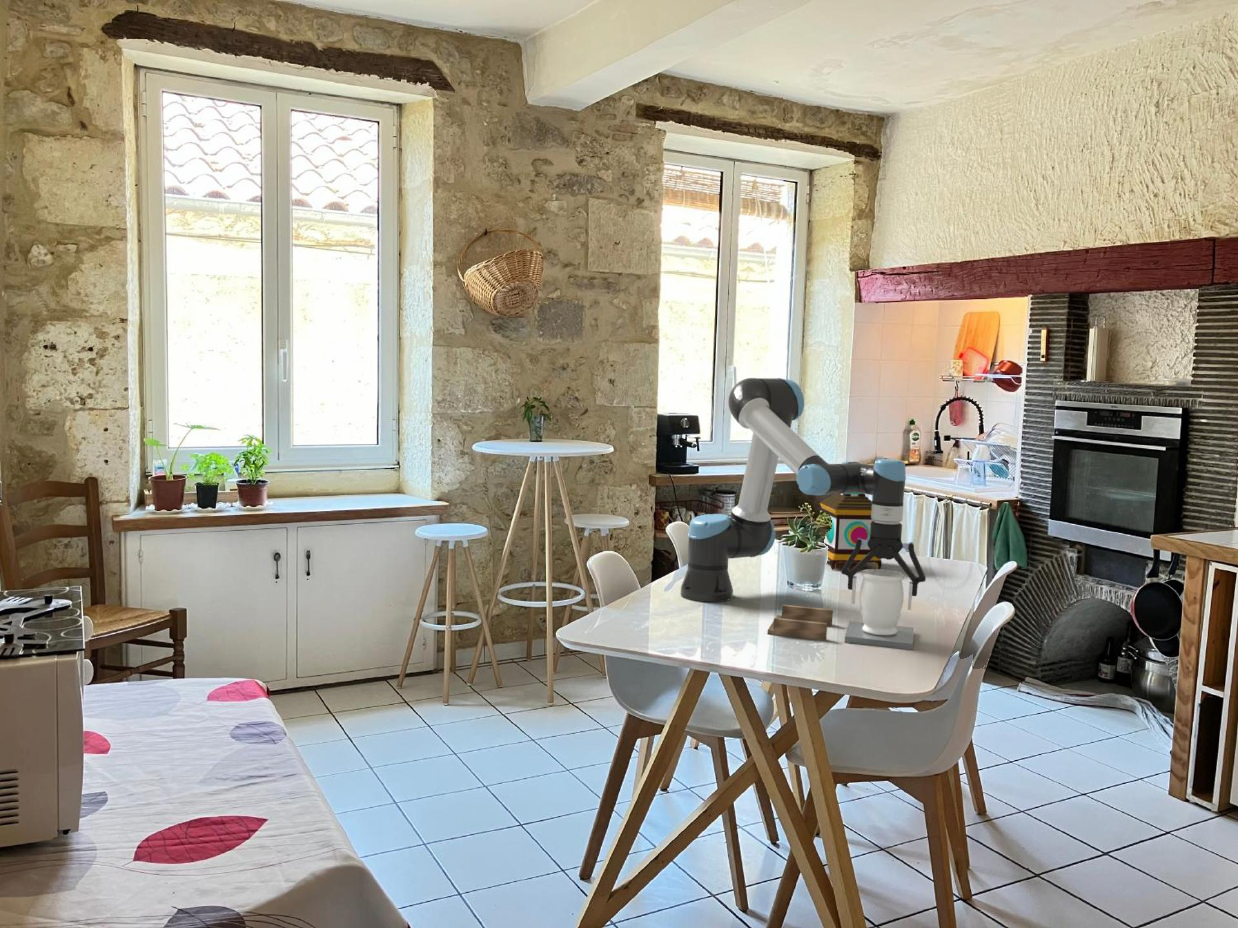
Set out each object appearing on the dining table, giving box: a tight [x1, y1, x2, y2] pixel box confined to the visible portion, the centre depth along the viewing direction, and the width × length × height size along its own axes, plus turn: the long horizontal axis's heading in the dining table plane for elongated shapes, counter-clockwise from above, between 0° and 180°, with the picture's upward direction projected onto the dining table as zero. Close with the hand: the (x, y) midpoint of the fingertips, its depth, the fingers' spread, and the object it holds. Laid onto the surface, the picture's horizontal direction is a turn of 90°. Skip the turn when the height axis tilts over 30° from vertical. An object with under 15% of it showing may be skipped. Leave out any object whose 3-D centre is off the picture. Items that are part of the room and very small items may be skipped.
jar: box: [859, 568, 905, 636], centre depth 246 cm, size 11×10×15 cm
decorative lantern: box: [819, 493, 882, 571], centre depth 337 cm, size 20×20×30 cm
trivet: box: [844, 620, 915, 650], centre depth 247 cm, size 16×16×2 cm
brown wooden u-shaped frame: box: [766, 604, 834, 641], centre depth 253 cm, size 14×16×4 cm
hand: (881, 605), depth 246 cm, fingers open, 13 cm apart
